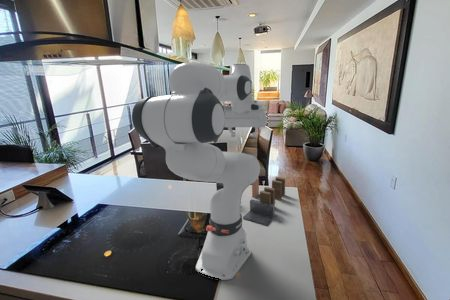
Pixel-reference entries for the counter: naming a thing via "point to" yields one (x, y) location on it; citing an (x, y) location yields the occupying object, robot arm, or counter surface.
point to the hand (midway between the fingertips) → (243, 136)
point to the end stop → (260, 212)
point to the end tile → (282, 184)
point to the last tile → (265, 197)
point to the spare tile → (255, 188)
